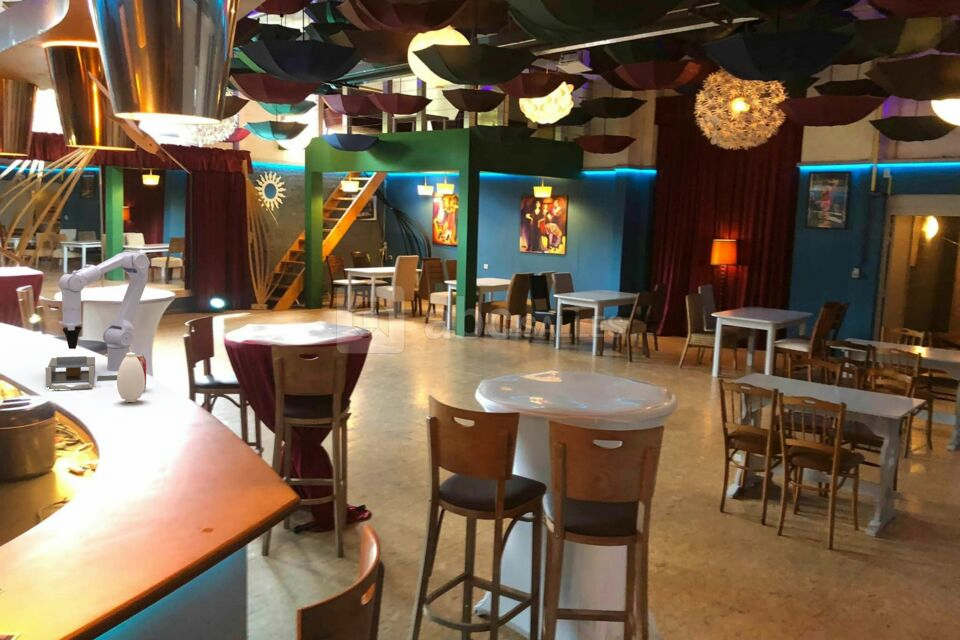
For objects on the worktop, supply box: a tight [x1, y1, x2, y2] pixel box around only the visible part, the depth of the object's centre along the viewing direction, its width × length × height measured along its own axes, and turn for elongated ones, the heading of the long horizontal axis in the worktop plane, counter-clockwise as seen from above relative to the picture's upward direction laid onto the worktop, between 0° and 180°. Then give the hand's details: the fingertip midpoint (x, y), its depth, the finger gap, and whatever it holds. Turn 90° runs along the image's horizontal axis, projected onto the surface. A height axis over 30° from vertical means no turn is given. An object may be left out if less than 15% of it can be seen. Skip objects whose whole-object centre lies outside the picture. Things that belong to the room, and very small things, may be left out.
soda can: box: [124, 352, 147, 390], centre depth 254 cm, size 7×7×12 cm
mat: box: [96, 374, 118, 382], centre depth 270 cm, size 9×9×1 cm
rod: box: [48, 383, 94, 390], centre depth 252 cm, size 13×2×2 cm, turn 115°
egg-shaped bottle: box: [116, 344, 145, 403], centre depth 238 cm, size 8×8×18 cm
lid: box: [48, 355, 96, 369], centre depth 267 cm, size 15×14×3 cm
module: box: [65, 367, 82, 376], centre depth 272 cm, size 4×4×5 cm
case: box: [45, 361, 96, 388], centre depth 265 cm, size 24×14×7 cm, turn 25°
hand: (72, 348), depth 269 cm, fingers closed
